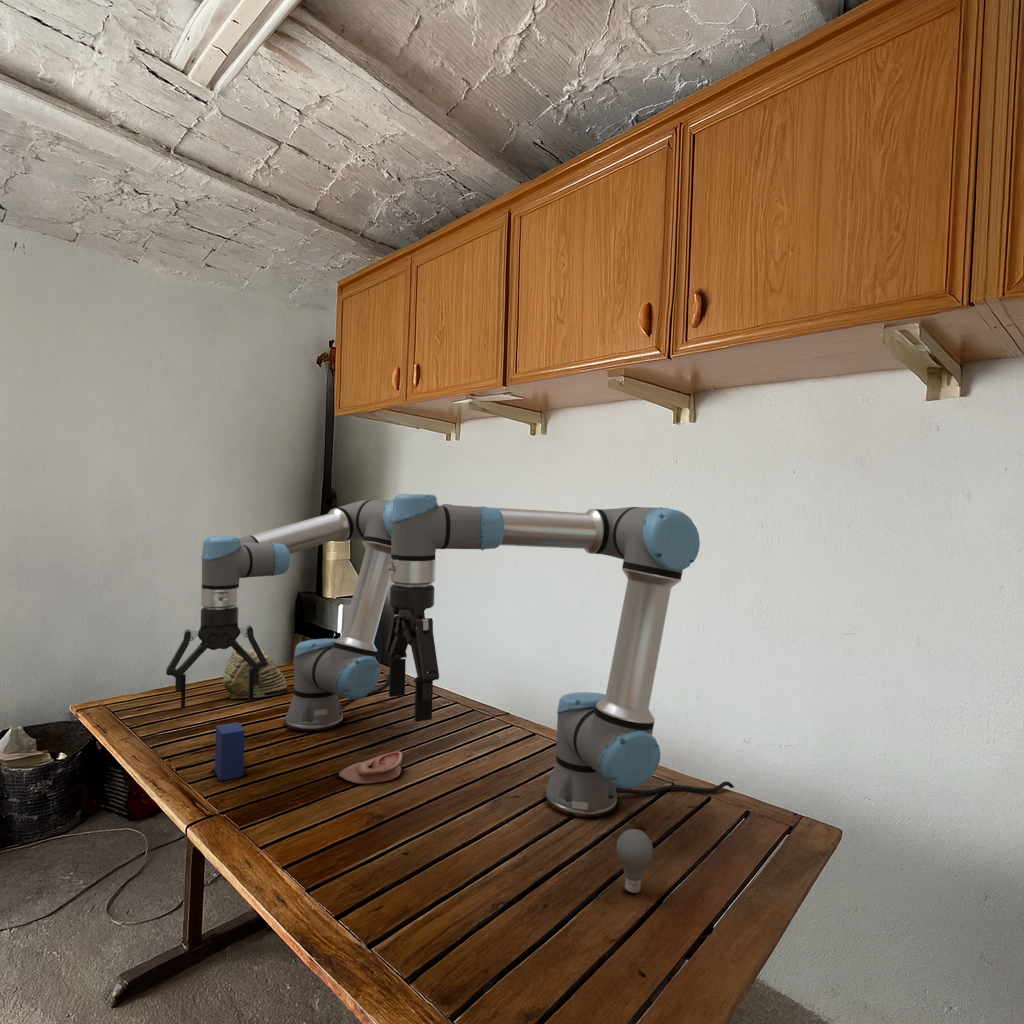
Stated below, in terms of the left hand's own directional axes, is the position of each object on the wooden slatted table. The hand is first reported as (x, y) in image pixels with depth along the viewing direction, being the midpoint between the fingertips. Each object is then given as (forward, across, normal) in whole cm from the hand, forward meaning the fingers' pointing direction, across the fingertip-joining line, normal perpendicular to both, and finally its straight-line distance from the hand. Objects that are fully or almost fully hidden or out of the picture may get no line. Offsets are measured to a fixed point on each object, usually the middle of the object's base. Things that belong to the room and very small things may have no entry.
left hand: (217, 702), depth 140 cm
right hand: (-11, +27, -50) cm, 58 cm away
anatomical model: (+17, +32, -11) cm, 38 cm away
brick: (+17, +3, +1) cm, 17 cm away
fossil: (+17, +14, +58) cm, 62 cm away
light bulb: (+17, +60, -71) cm, 94 cm away
